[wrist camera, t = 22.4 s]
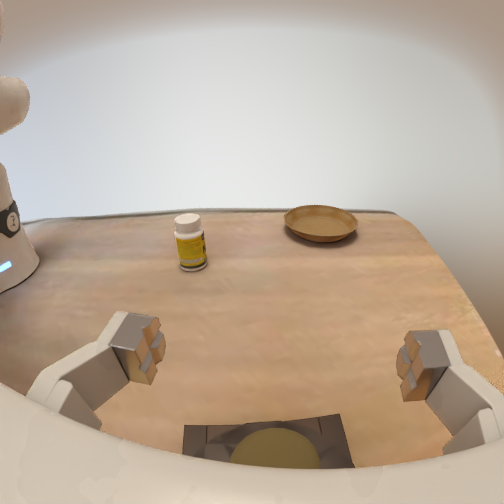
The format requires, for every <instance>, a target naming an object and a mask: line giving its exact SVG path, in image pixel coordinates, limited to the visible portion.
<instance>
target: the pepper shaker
mask: <svg viewBox="0 0 504 504" xmlns="http://www.w3.org/2000/svg"><path fill="white" fill-rule="evenodd" d="M229 463H234V464H241V465H250V466H260V467H272V468H290V469H320V458H319V456H318V453H317V451H316V448H315V447H314V445H313V444H312V443H311V442H310V441H309V440H308V439H307V438H306V437H304V436H303V435H301V434H299V433H298V432H296V431H292V430H288V429H285V428H267V429H263V430H258V431H256V432H254V433H252V434H250V435H248V436H246V437H245V438H244V439H243V440H242V441H241V442H240V443H239V444H238V445H237V446H236V448H235V450H234V452H233V453H232V455H231V457H230V462H229Z"/></svg>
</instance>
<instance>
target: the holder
mask: <svg viewBox="0 0 504 504" xmlns="http://www.w3.org/2000/svg"><path fill="white" fill-rule="evenodd" d="M267 428H285V429H288V430H292V431H296V432H298V433H299V434H301V435H303V436H304V437H306V438H307V439H308V440H309V441H310V442H311V443H312V444H313V445H314V447H315V448H316V451H317V453H318V456H319V458H320V469H344V468H355V466H354V464H353V463H352V459H351V455H350V451H349V448H348V444H347V440H346V436H345V432H344V428H343V425H342V421H341V417H340V414H334V415H329V416H322V417H315V418H308V419H301V420H292V421H283V422H282V421H271V422H258V423H246V424H243V425H207V426H206V425H185V426H184V437H183V452H182V454H183V455H187V456H192V457H197V458H202V459H208V460H214V461H220V462H226V463H229V462H230V457H231V455H232V453H233V452H234V450H235V448H236V446H237V445H238V444H239V443H240V442H241V441H242V440H243V439H244V438H245V437H246V436H248V435H250V434H252V433H254V432H256V431H258V430H263V429H267Z"/></svg>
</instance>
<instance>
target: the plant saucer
mask: <svg viewBox="0 0 504 504" xmlns="http://www.w3.org/2000/svg"><path fill="white" fill-rule="evenodd" d="M284 221H285V223H286V224H287V226H288V227H289V228H290V229H291V230H292V231H293V232H294V233H296V234H297V235H298V236H300V237H302V238H304V239H307V240H310V241H314V242H334V241H338V240H341V239H343V238H345V237H346V236H348V235H349V234H351V233H352V232H353V231H354V230H355V229H356V228H357V226H358V221H357V219H356V218H355V216H353V215H352V214H351V213H349V212H347V211H345V210H342V209H339V208H336V207H331V206H323V205H307V206H300V207H296V208H293V209H291V210H289V211H288V212H287V213H286V214H285V215H284Z"/></svg>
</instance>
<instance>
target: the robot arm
mask: <svg viewBox="0 0 504 504" xmlns="http://www.w3.org/2000/svg"><path fill="white" fill-rule="evenodd" d="M3 27H4V11H3V6H2V3H1V1H0V40H1V36H2V32H3ZM29 104H30V96H29V91H28V88H27V86H26V85H25V83H24V82H23V81H22V80H20V79H19V78H9V77H4V76H0V135H1V134H4V133H5V132H7V131H9V130H11V129H12V128H14V127H16V126H17V125H19V124H20V123H22V122H23V120H24V119H25V117H26V115H27V112H28V109H29ZM38 264H39V257H38V255H37V254H36V252H35V249H34V247H33V246H32V245H31V243H30V241H29V239H28V237H27V235H26V233H25V230H24V228H23V226H22V224H21V222H20V218H19V212H18V208H17V205H16V202H15V201H14V200H13V198H12V194H11V191H10V186H9V183H8V178H7V174H6V170H5V168H4V166H3V165H2V164H1V163H0V293H1V292H3V291H4V290H7V289H9V288H11V287H13V286H15V285H17V284H19V283H20V282H22V281H23V280H25V279H26V278H27V277H28V276H29V275H31V274H32V273H33V271H34V270H35V269H36V268H37V266H38ZM160 326H161V324H160V321H159V318H157V317H154V316H148V315H142V314H136V313H129V312H123V311H117V312H115V313H114V315H113V316H112V318H111V319H110V321H109V322H108V324H107V325H106V327H105V328H104V330H103V331H102V333H101V334H100V336H99V337H98V339H97V340H96V342H90V343H89V344H87V345H85V346H83V347H82V348H80V349H78V350H76V351H75V352H73V353H71V354H69V355H67V356H66V357H64V358H62V359H60V360H59V361H57V362H55V363H53V364H52V365H50V366H48V367H46V368H45V369H43V370H42V371H41V372H40V374H39V375H38V377H37V378H36V380H35V381H34V383H33V385H32V386H31V388H30V389H29V391H28V392H27V394H26V396H23V395H22V394H20V393H18V392H16V391H15V390H13V389H11V388H9V387H8V386H6V385H4V384H3V383H1V382H0V504H504V395H503V394H502V393H501V392H500V391H499V390H498V389H496V388H495V387H494V386H493V385H492V384H491V383H490V382H488V381H487V380H486V379H485V378H484V377H482V376H481V375H480V374H479V373H478V372H477V371H475V370H474V369H473V368H472V367H471V366H469V365H468V364H466V365H465V364H464V362H463V359H462V357H461V354H460V352H459V350H458V347H457V345H456V343H455V340H454V338H453V336H452V334H451V332H450V330H448V329H439V330H419V331H409V332H408V333H407V334H406V336H405V338H404V341H405V345H404V346H403V347H401V348H400V350H399V352H398V355H397V361H396V368H397V374H398V376H399V377H400V378H401V379H402V380H403V381H402V383H401V385H400V388H401V392H402V397H403V402H408V401H421V400H426V401H425V402H426V403H427V404H428V405H429V407H430V408H431V409H432V410H433V412H434V413H435V414H436V415H437V417H438V418H439V419H440V420H441V421H442V423H443V424H444V425H445V426H446V428H447V429H448V430H449V431H450V433H451V434H452V435H453V438H452V439H451V440H450V441H449V442H448V443H447V444H445V446H444V447H443V454H444V455H443V456H438V457H433V458H428V459H423V460H417V461H412V462H405V463H398V464H391V465H382V466H373V467H361V468H344V469H290V468H272V467H260V466H250V465H241V464H234V463H226V462H220V461H214V460H208V459H202V458H197V457H192V456H187V455H183V454H178V453H174V452H170V451H165V450H161V449H158V448H154V447H150V446H147V445H143V444H140V443H136V442H133V441H130V440H127V439H123V438H120V437H117V436H114V435H112V434H109V433H106V432H103V431H100V430H99V429H100V427H101V425H102V423H101V420H100V419H99V418H98V417H97V416H96V414H95V413H94V412H93V411H95V410H96V409H97V408H98V407H100V406H101V405H102V404H103V403H105V402H106V401H107V400H108V399H109V398H111V397H112V396H113V395H114V394H116V393H117V392H118V391H119V390H121V389H122V388H123V387H124V386H125V385H127V384H128V383H129V381H132V382H137V383H142V384H147V385H151V384H152V382H153V380H154V377H155V375H156V373H157V371H158V370H157V367H156V364H157V363H159V362H160V361H162V359H163V356H164V354H165V348H166V342H165V337H164V334H163V333H161V332H160V331H159V328H160Z"/></svg>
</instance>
